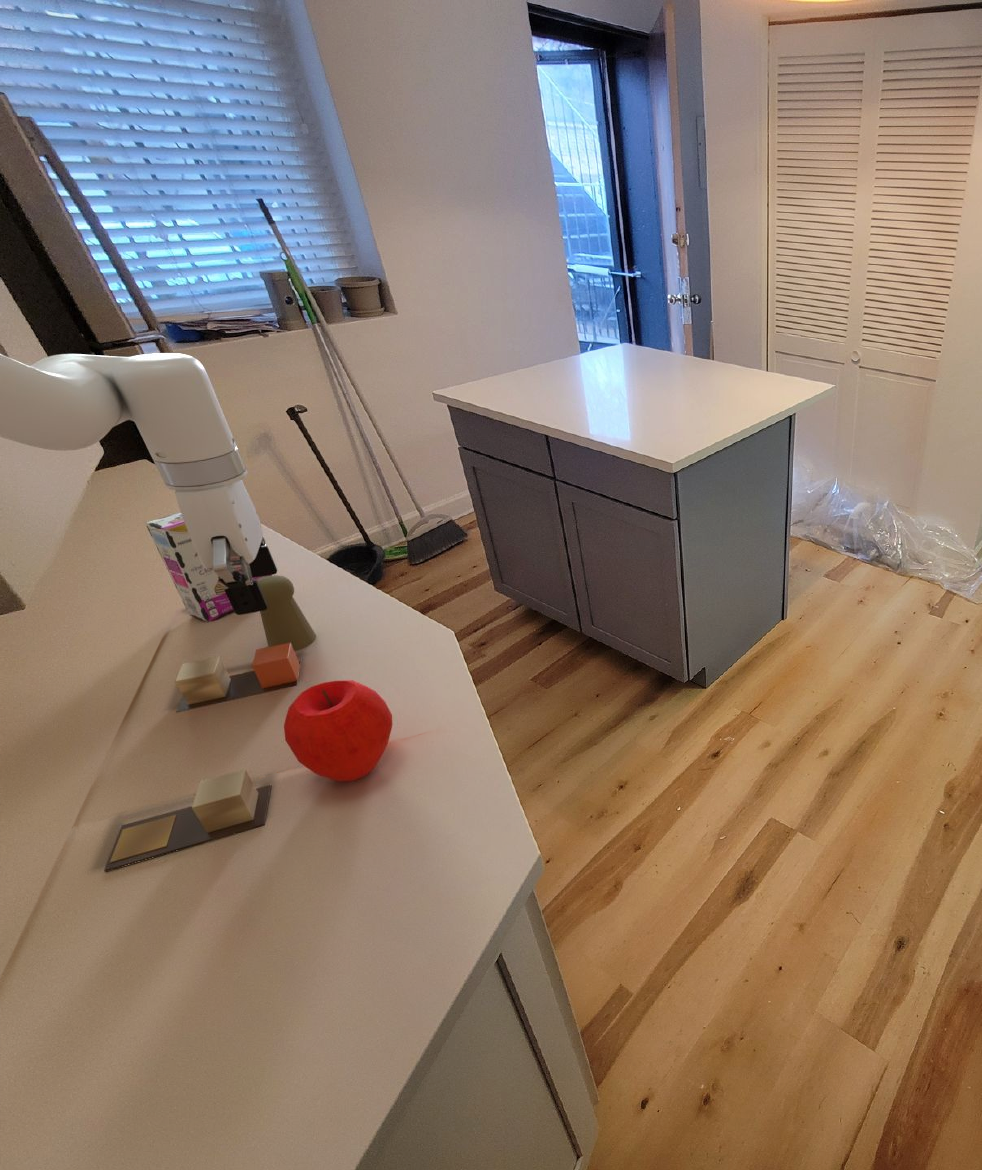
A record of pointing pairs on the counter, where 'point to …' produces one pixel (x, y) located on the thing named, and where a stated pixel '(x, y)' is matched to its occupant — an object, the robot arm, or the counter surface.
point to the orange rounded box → (276, 665)
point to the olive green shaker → (283, 614)
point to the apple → (338, 729)
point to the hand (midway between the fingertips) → (258, 592)
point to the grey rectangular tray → (217, 684)
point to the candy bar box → (190, 569)
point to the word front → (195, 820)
